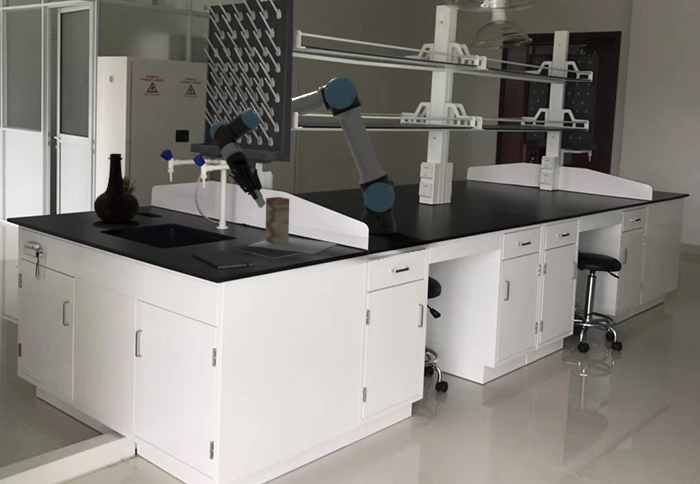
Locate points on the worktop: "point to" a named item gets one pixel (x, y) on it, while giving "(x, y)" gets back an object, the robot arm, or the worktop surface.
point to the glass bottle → (116, 197)
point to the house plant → (126, 185)
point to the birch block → (277, 219)
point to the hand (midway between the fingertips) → (262, 205)
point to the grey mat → (297, 245)
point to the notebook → (222, 259)
